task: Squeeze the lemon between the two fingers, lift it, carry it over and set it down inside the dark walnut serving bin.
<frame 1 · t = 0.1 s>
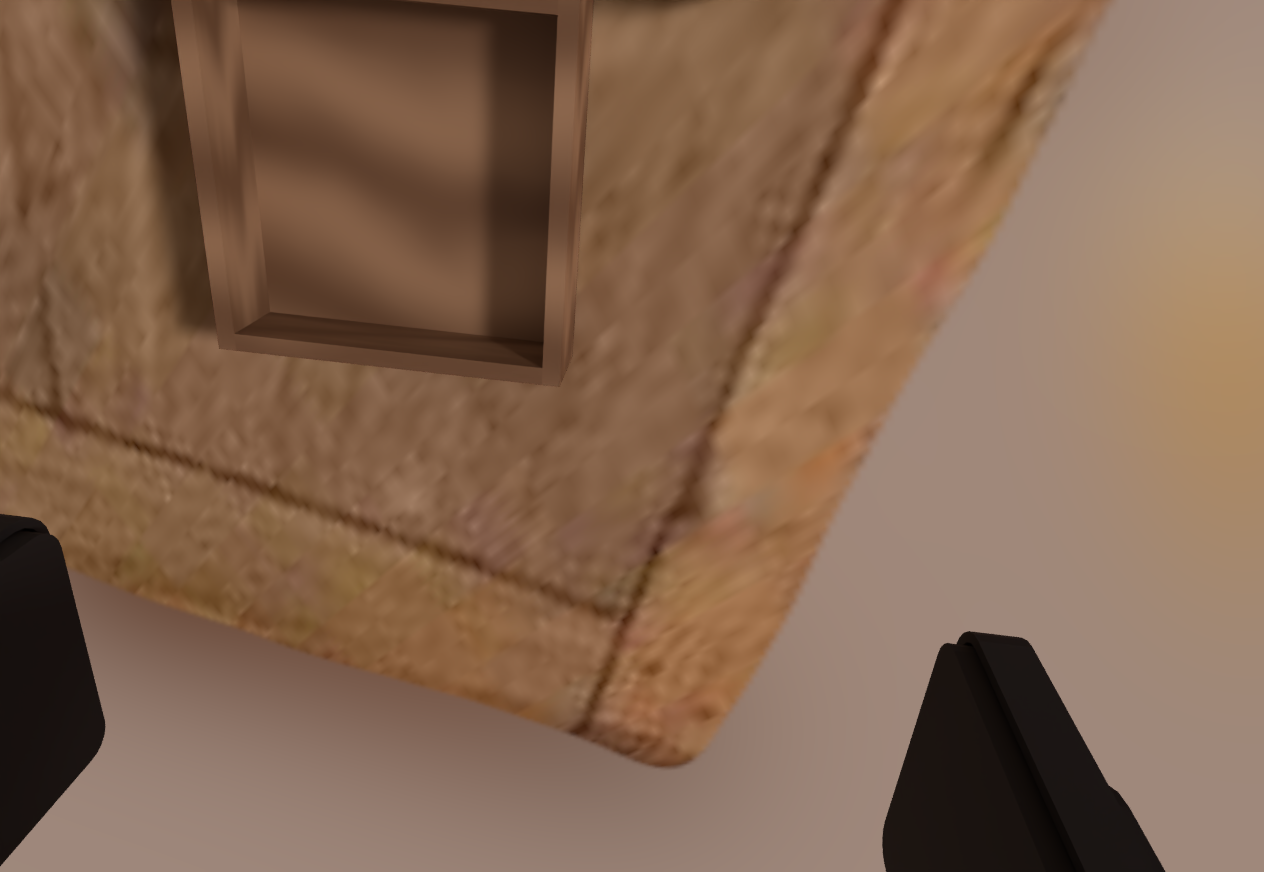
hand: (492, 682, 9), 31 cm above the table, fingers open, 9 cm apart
serving bin: (411, 176, 37), on the table
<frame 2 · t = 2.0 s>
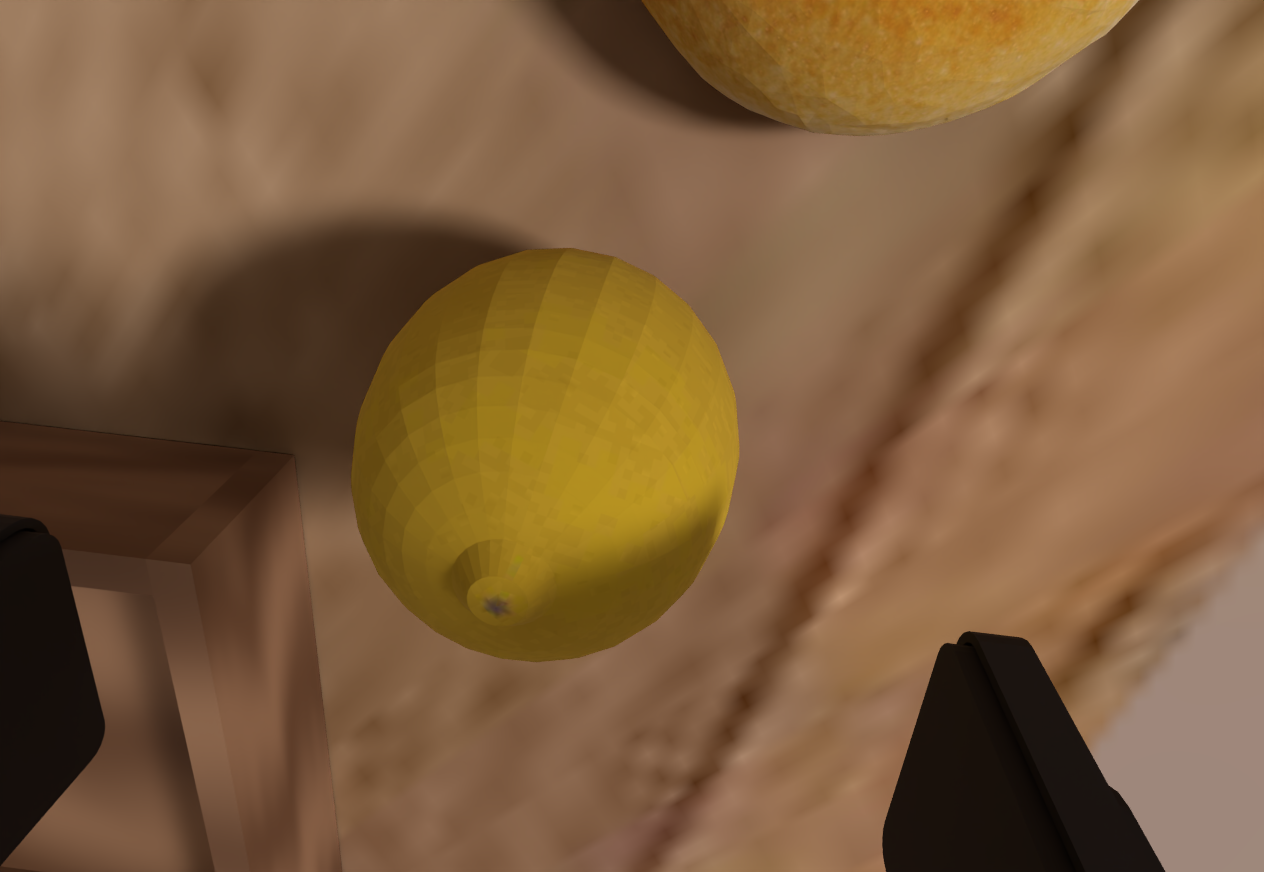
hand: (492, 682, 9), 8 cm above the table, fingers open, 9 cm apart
serving bin: (31, 682, 21), on the table
lemon: (590, 343, 16), on the table
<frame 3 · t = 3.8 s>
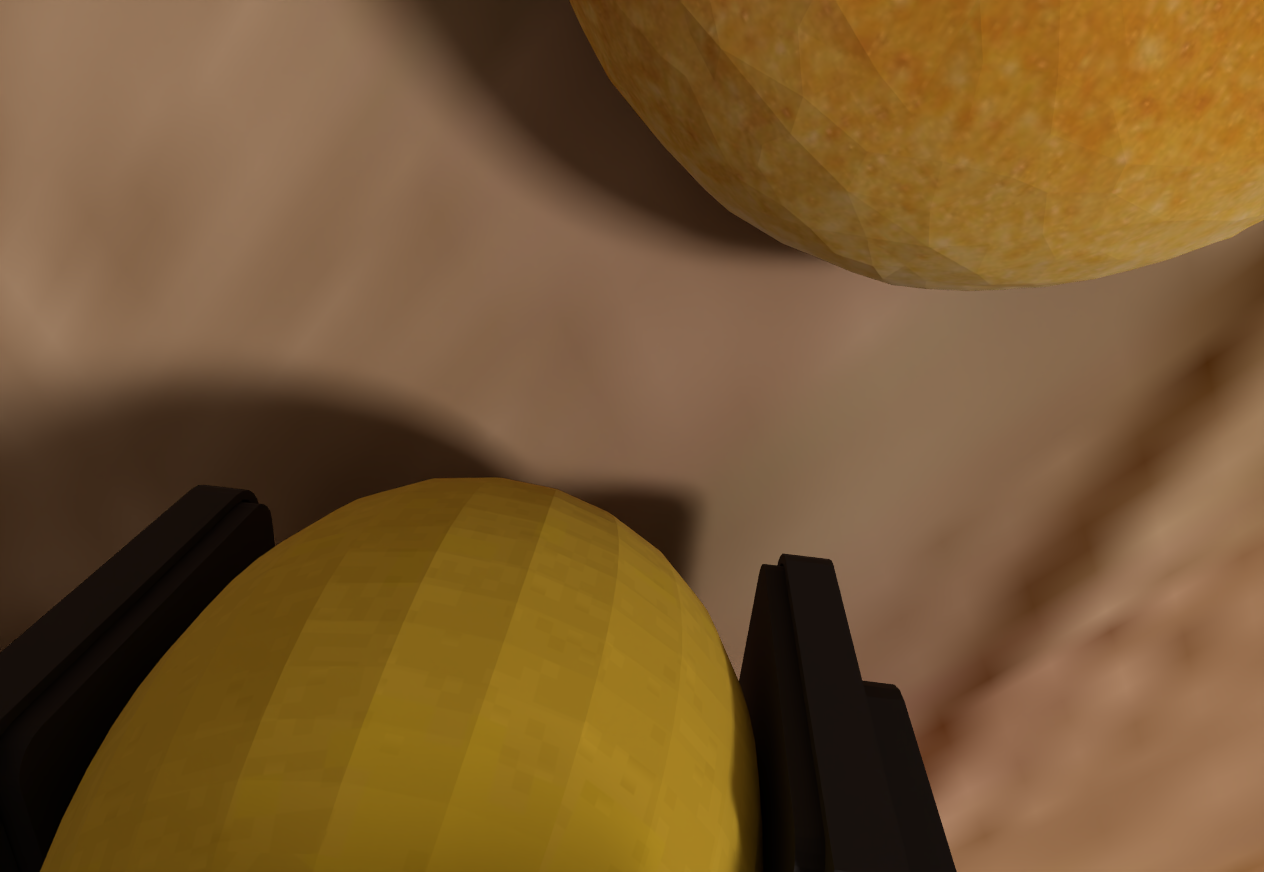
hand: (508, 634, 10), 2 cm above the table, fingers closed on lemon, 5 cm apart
lemon: (537, 552, 11), on the table, touching gripper
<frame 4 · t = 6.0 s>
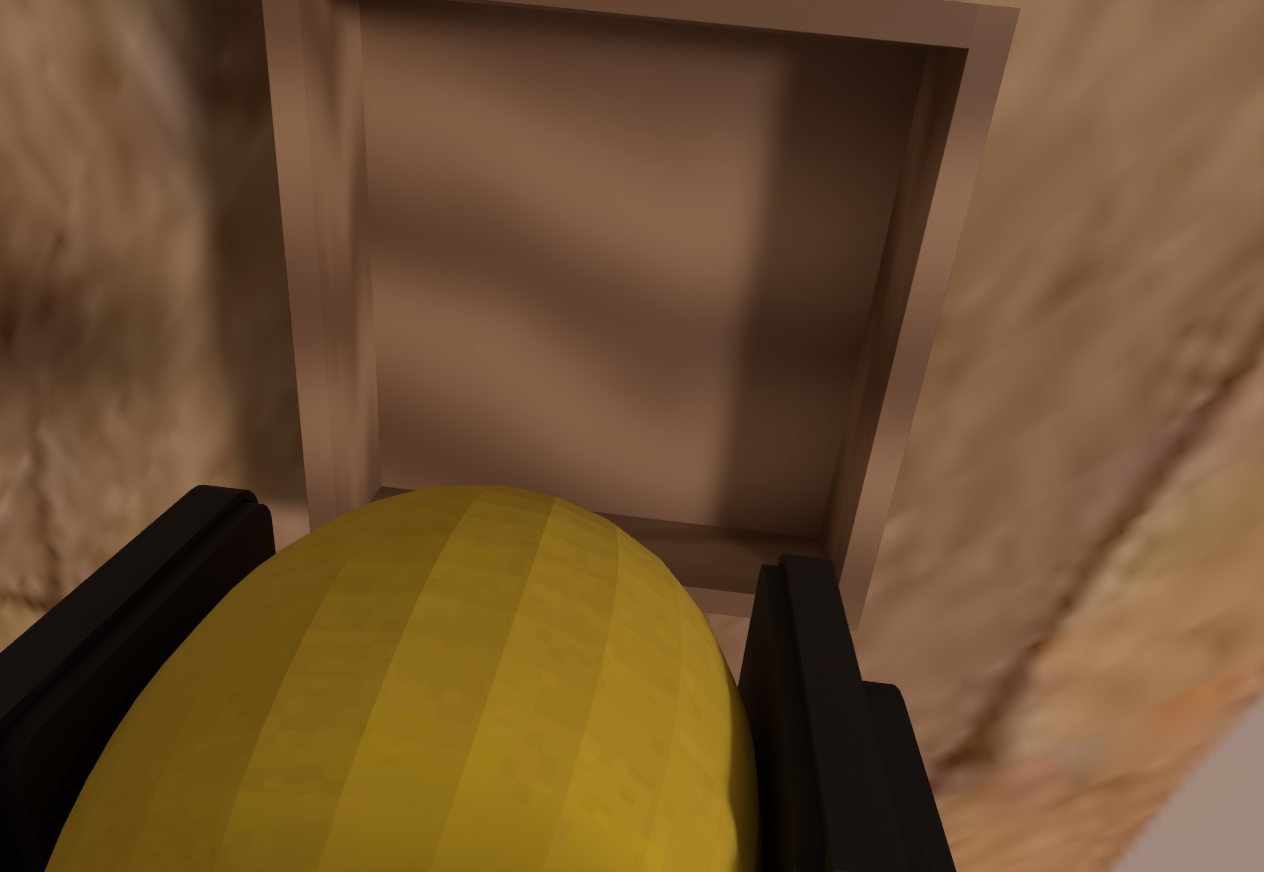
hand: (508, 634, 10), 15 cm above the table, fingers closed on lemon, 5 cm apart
serving bin: (618, 292, 24), on the table
lemon: (537, 558, 11), point 14 cm above the table, touching gripper
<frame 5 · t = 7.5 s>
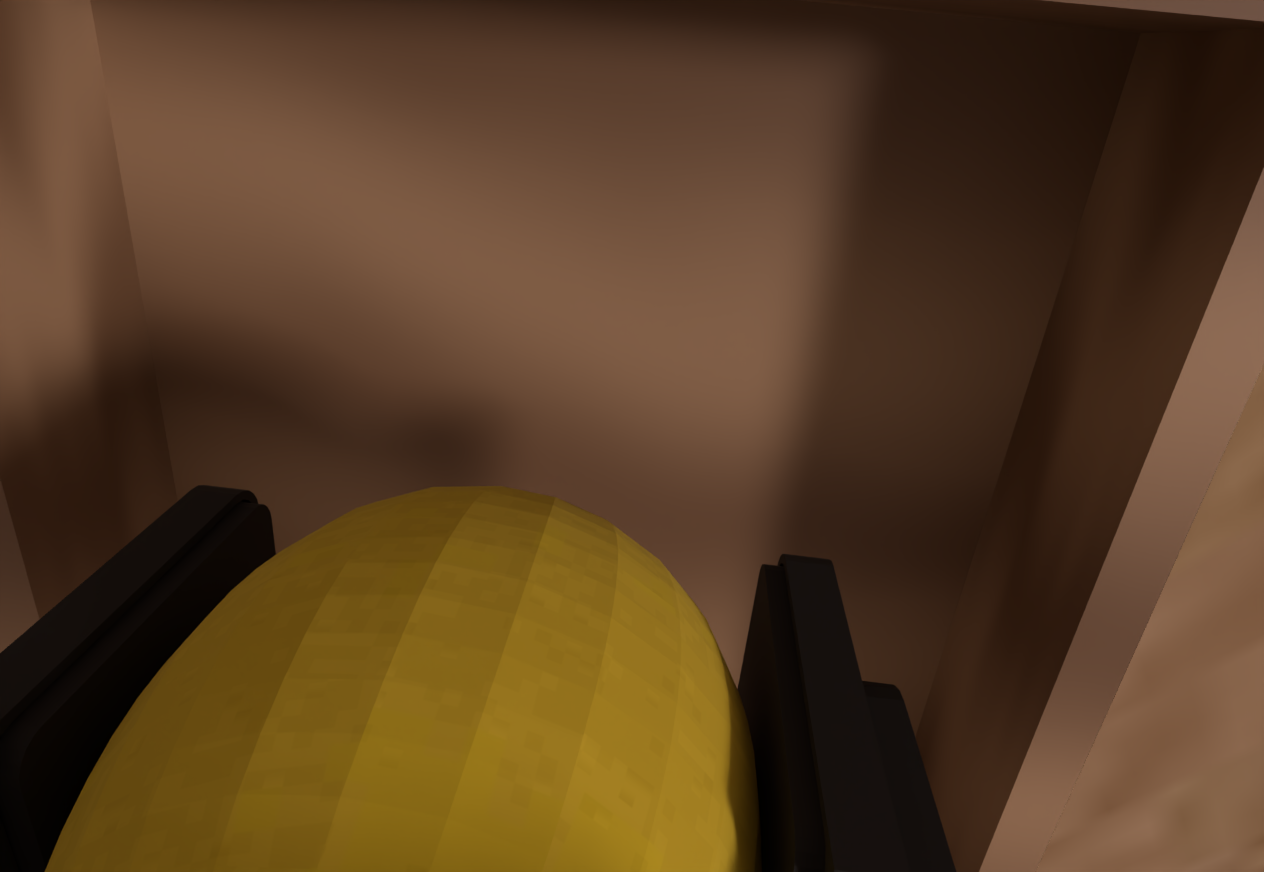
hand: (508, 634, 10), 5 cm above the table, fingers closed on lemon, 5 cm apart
serving bin: (573, 440, 14), on the table
lemon: (537, 558, 11), point 4 cm above the table, touching gripper
when the fingers open (4 cm above the table, at t = 8.5 s): lemon drops 2 cm, resting on serving bin.
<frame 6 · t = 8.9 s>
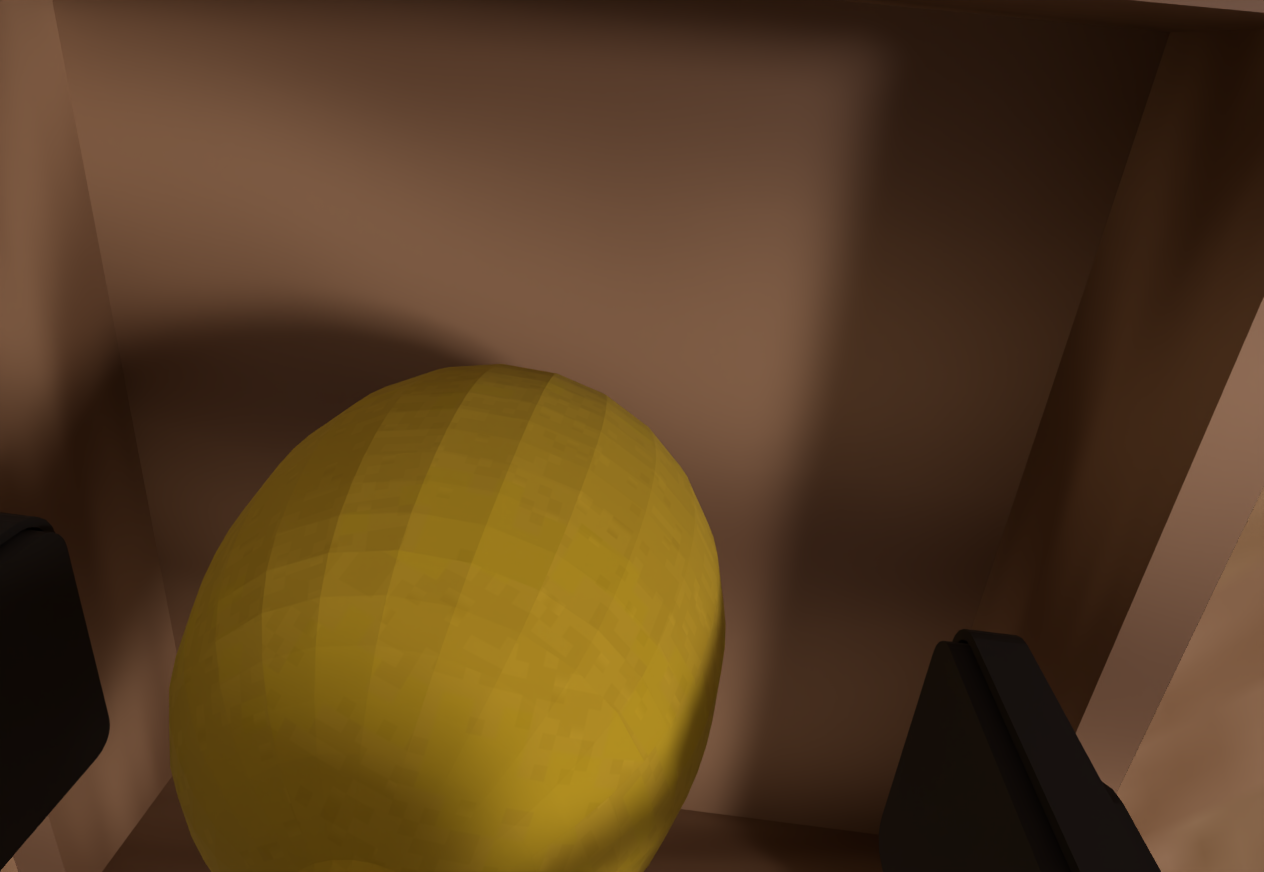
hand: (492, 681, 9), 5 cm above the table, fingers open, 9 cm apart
serving bin: (566, 460, 14), on the table
lemon: (545, 459, 13), resting on serving bin
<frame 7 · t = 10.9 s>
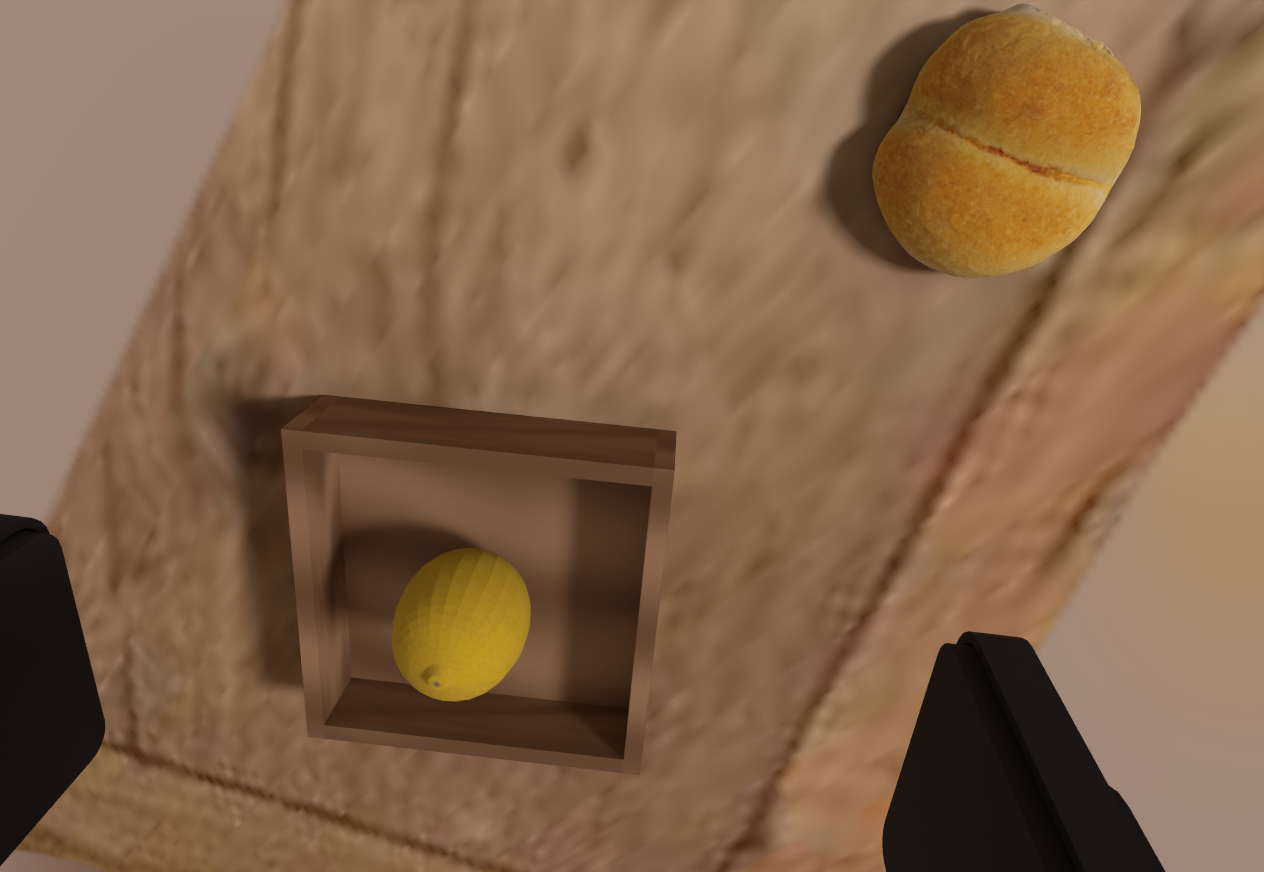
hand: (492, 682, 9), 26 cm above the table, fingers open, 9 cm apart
serving bin: (494, 566, 39), on the table
lemon: (486, 566, 38), resting on serving bin
bread roll: (988, 145, 31), on the table
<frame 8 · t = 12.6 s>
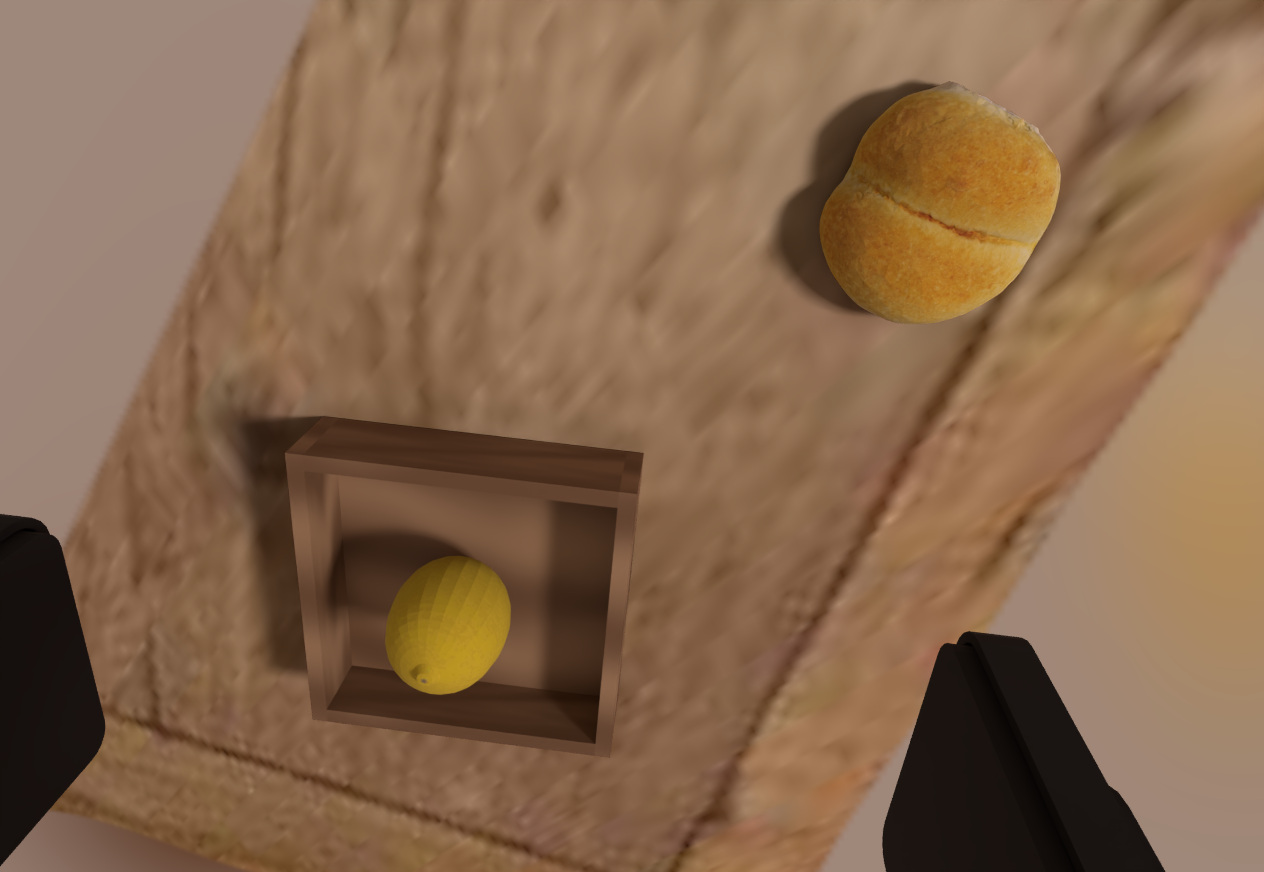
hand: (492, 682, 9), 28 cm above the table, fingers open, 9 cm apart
serving bin: (480, 569, 43), on the table
lemon: (473, 570, 42), resting on serving bin
bread roll: (927, 202, 34), on the table
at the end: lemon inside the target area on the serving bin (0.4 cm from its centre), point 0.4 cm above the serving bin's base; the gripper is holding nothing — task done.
